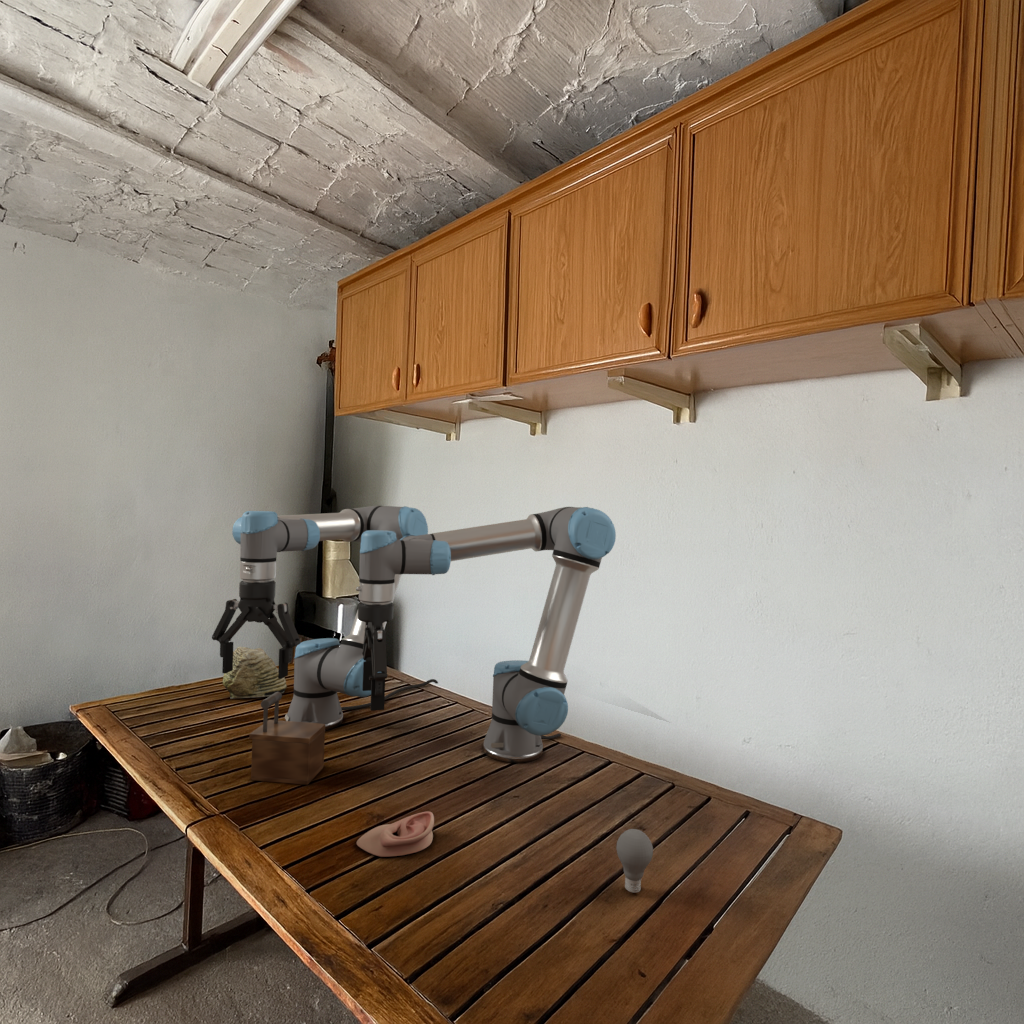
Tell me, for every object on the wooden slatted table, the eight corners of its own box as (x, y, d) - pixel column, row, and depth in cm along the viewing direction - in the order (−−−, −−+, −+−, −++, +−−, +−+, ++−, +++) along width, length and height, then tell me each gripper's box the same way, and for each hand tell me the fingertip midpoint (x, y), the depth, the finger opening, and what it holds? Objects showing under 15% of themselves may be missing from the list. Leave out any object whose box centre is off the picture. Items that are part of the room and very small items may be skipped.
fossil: (218, 695, 195) (220, 647, 195) (278, 685, 208) (279, 640, 207) (228, 703, 189) (230, 653, 188) (289, 692, 201) (290, 645, 201)
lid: (249, 739, 140) (250, 701, 140) (268, 724, 149) (270, 689, 149) (309, 743, 139) (310, 705, 139) (325, 728, 148) (326, 693, 148)
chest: (250, 780, 140) (252, 739, 140) (270, 762, 149) (271, 724, 149) (307, 784, 139) (309, 744, 139) (323, 767, 148) (325, 728, 148)
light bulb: (610, 879, 108) (613, 822, 108) (644, 879, 109) (647, 822, 109) (619, 902, 102) (622, 840, 102) (655, 901, 103) (658, 840, 103)
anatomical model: (349, 829, 113) (376, 800, 125) (348, 851, 113) (375, 820, 125) (420, 841, 111) (440, 810, 122) (419, 863, 111) (439, 830, 122)
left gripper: (196, 578, 140) (193, 674, 140) (301, 585, 136) (298, 684, 136) (217, 574, 147) (215, 665, 148) (317, 581, 143) (314, 674, 143)
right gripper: (352, 593, 147) (349, 684, 148) (365, 612, 124) (362, 720, 124) (384, 592, 150) (381, 681, 150) (404, 611, 126) (400, 717, 127)
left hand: (255, 674), depth 142 cm, fingers open, 13 cm apart
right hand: (372, 699), depth 137 cm, fingers open, 13 cm apart
